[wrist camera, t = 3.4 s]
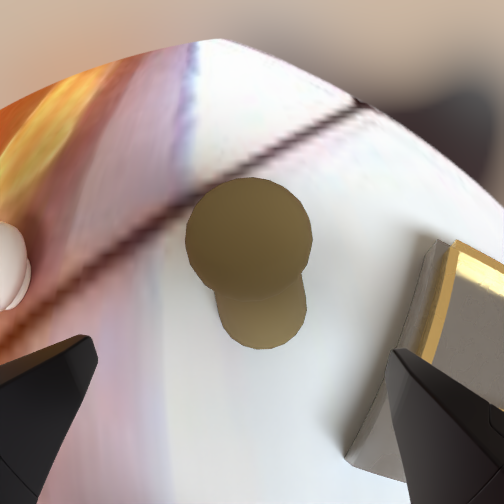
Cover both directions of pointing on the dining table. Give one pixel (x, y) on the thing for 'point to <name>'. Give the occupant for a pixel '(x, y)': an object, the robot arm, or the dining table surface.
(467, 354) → the grey base with knob
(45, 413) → the robot arm
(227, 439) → the dining table surface
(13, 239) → the flower vase
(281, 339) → the cork
